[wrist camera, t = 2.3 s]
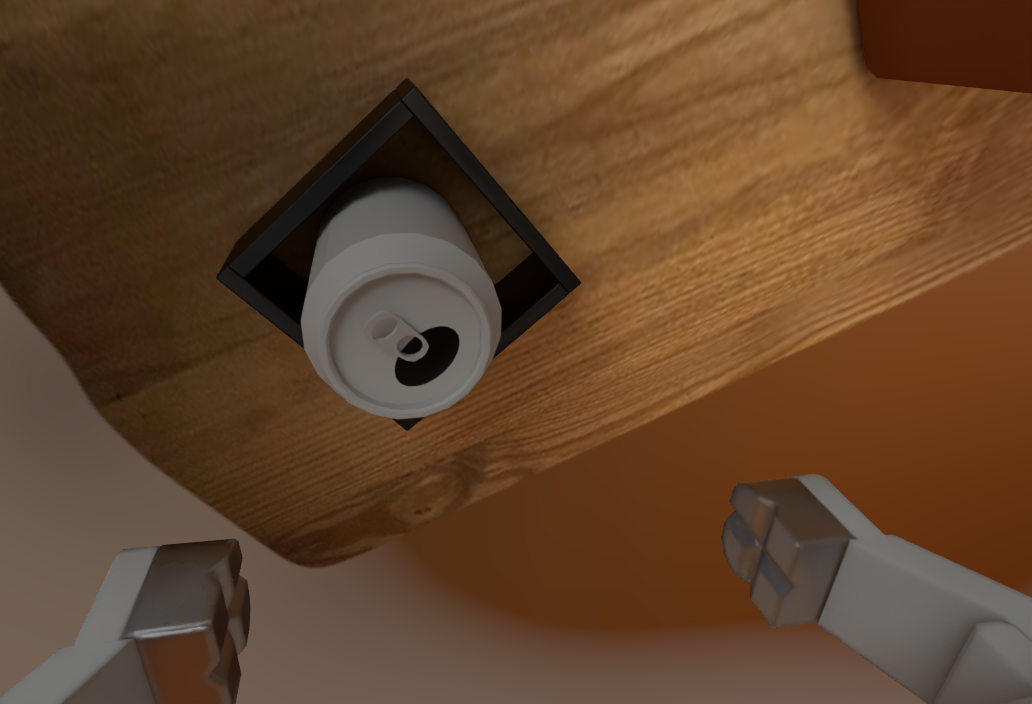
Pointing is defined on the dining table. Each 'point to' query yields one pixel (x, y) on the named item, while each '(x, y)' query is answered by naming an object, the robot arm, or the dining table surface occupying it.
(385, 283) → the can
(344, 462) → the dining table surface
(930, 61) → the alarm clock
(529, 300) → the frame
